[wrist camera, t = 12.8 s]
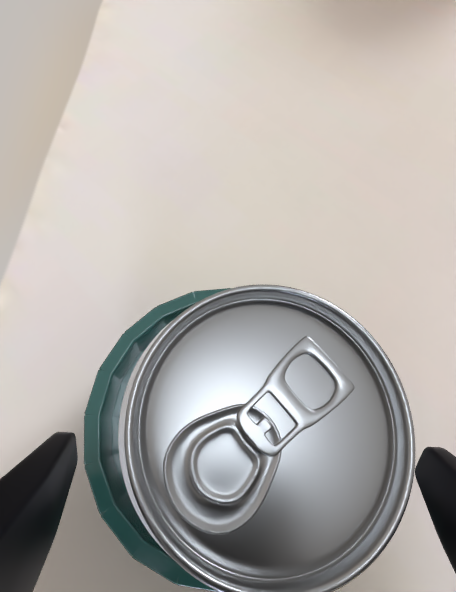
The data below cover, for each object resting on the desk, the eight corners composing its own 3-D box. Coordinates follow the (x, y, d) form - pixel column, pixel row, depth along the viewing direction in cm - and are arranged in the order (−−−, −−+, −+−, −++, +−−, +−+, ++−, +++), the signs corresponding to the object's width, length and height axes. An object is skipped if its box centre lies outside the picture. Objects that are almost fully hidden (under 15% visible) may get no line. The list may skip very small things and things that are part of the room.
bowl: (214, 604, 15) (225, 682, 11) (66, 416, 17) (22, 413, 13) (358, 422, 19) (414, 421, 14) (222, 284, 21) (232, 244, 16)
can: (130, 415, 17) (25, 399, 6) (226, 336, 19) (279, 216, 8) (212, 525, 16) (269, 765, 5) (304, 428, 18) (499, 437, 7)
